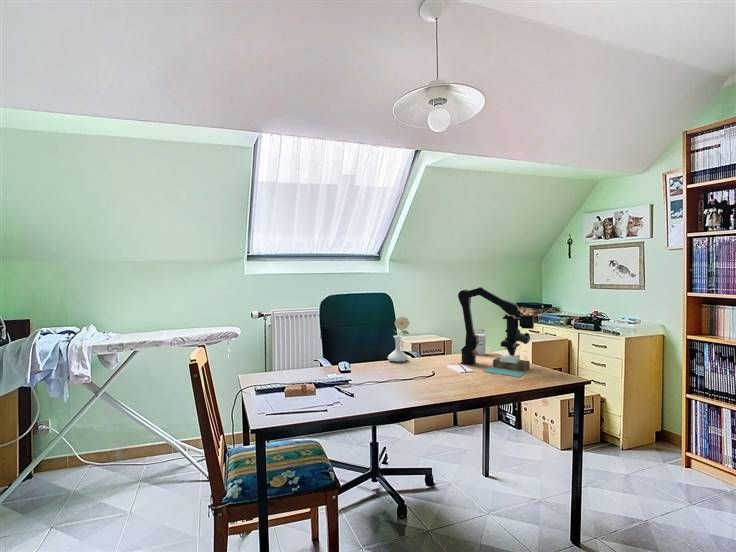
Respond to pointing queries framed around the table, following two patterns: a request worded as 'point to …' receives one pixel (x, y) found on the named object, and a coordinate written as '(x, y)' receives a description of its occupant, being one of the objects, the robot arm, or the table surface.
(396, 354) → the flower in vase
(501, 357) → the tile
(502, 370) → the mat
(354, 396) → the table surface
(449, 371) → the table surface
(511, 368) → the brown rectangular block
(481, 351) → the ink cartridge box
